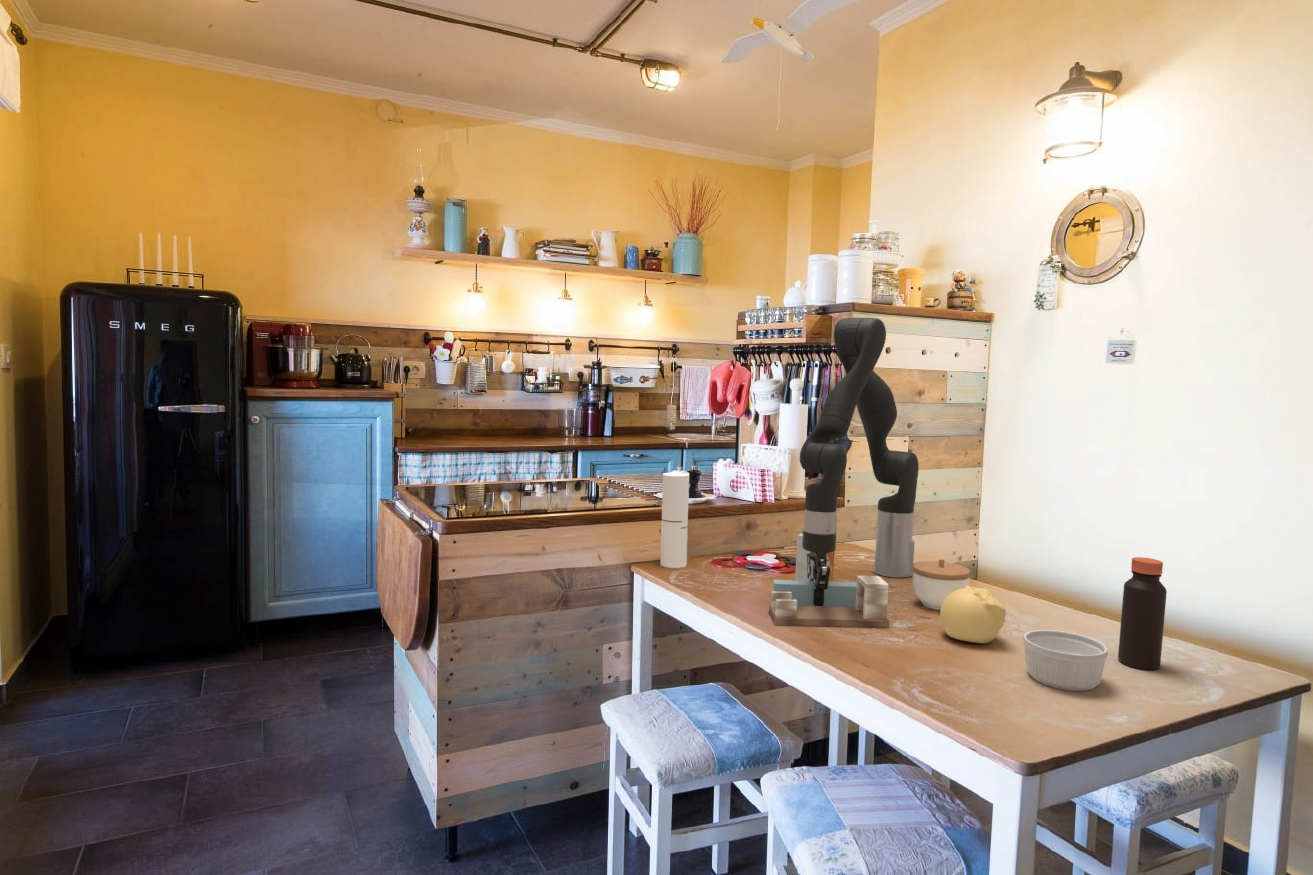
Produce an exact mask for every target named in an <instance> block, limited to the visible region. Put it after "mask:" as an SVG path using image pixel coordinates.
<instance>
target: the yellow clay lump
mask: <svg viewBox="0 0 1313 875" xmlns="http://www.w3.org/2000/svg"><path fill="white" fill-rule="evenodd" d="M1006 613H1007V611H1006V608H1005V605H1004V604H1003V603H1001V602H1000V600H999V599H998V598H997V597H996V596H994V594H992V593H991V592H990V591H989V589H987V588H983V587H975V586H970V585H969V586H967V585H966V586H965V588H963V589H958V590H955V591H953V592H951V593H950V594H949V595H948V596H947V597H946V598H945V599H944V601H943V603H942V605H941V609H940V610H939V617H940V618H939V619H940V624H941V626H942V628H943V631H944V632H945V634H946V635H947V636H949V637H951V638H952V639H955V640H958V641H964V642H969V643H976V644H989V643H990V642H992V641H993V640H994V639H995V638H997V635H998V634H999V632H1000V630H1001V629H1002V628H1003V626H1004V623H1005V621H1006V619H1005V618H1006V615H1007V614H1006Z"/></svg>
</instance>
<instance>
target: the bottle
mask: <svg viewBox="0 0 1313 875" xmlns="http://www.w3.org/2000/svg"><path fill="white" fill-rule="evenodd" d="M1163 566H1164V562H1163V561H1161V560H1159V559H1155V558H1150V557H1144V556H1143V557H1139V556H1138V557H1136V556H1135V557H1132V558H1131V568H1130V570H1131V571H1130V573H1132V577H1131V578H1129V579H1128V580H1127V581H1125V582H1124V584H1123V591H1122V592H1123V593H1122V602H1121V603H1122V605H1121V616H1120V617H1121V618H1120V630H1119V639H1118V640H1119V642H1118V653H1117V658H1118V659H1117V660H1118V661H1119V662H1120V663H1121V664H1123V665H1125V666H1128V667H1130V668H1134V669H1138V670H1145V671H1155V670H1158V669H1159V668H1161V661H1162V650H1163V649H1162V648H1163V639H1164V638H1163V637H1164V627H1165V615H1166V602H1167V593H1168V592H1167V588H1166V586H1164V584H1162V582H1161V581H1160V578H1161V577H1162V575H1163Z"/></svg>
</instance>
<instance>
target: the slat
mask: <svg viewBox="0 0 1313 875" xmlns="http://www.w3.org/2000/svg"><path fill="white" fill-rule="evenodd" d="M819 584H822V581H820V583H819ZM856 590H857V582H849V581H833V582H828V588H827V589H825V590H824V604H823V606H825V607H856ZM772 591H781V592H791V593H792V600H797V606H815V605H814V604H813V599H814V581H799V580H795V579H794V580H793V579H792V580H791V579H772ZM772 591H771V592H772Z"/></svg>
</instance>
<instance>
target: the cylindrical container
mask: <svg viewBox="0 0 1313 875" xmlns="http://www.w3.org/2000/svg"><path fill="white" fill-rule="evenodd" d="M661 496H662V497H661V501H662V502H661V530H660V531H661V532H660V534H661V535H660V538H661V539H660V566H661V567H664V568H669V569H681V568H685V567H686V566H687V560H688V557H687V556H688V528H689V527H688V524H689V523H688V522H689V500H690V499H689V496H690V474H689V473H686V472H684V473H683V472H665V473H663V474H662V495H661Z"/></svg>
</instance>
